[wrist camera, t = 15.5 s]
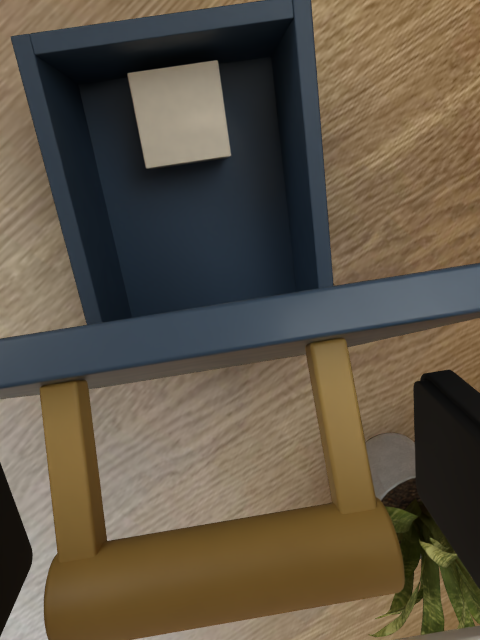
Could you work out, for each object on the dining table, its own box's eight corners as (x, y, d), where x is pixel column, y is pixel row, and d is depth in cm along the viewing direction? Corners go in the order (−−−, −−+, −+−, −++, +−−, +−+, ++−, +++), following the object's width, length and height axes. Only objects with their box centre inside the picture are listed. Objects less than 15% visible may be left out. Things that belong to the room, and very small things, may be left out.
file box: (64, 73, 26) (9, 35, 19) (281, 42, 27) (310, -7, 19) (124, 327, 31) (100, 376, 24) (306, 298, 32) (338, 338, 24)
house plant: (471, 342, 34) (700, 491, 18) (500, 488, 38) (704, 708, 22) (287, 407, 34) (356, 605, 19) (337, 543, 38) (426, 795, 23)
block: (154, 168, 27) (145, 168, 23) (139, 88, 26) (126, 72, 22) (227, 158, 28) (231, 156, 23) (215, 77, 26) (217, 59, 22)
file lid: (-221, 372, 7) (-203, 747, 7) (562, 248, 7) (647, 596, 7) (97, 372, 23) (110, 479, 23) (338, 333, 24) (358, 438, 23)
